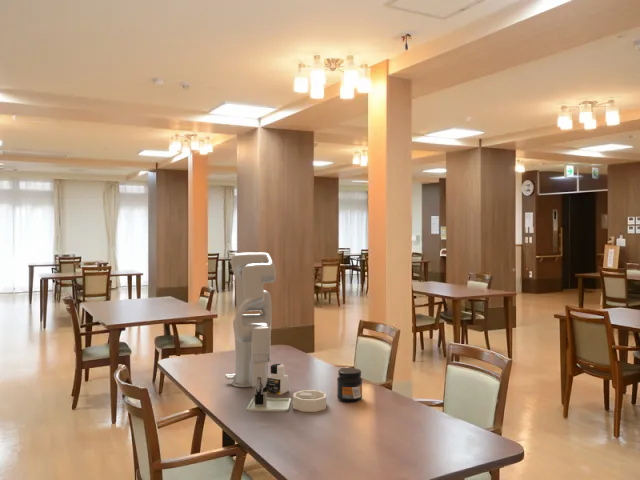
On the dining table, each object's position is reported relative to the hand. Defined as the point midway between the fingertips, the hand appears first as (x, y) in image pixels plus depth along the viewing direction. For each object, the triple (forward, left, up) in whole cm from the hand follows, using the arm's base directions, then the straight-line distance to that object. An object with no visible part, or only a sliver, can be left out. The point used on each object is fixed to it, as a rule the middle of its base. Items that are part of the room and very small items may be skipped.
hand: (261, 400), depth 217 cm
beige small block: (0, 0, -2) cm, 2 cm away
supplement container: (+35, +11, -3) cm, 37 cm away
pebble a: (+18, -1, -2) cm, 18 cm away
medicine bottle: (+4, +19, -3) cm, 20 cm away
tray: (+3, 0, -2) cm, 4 cm away
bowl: (+19, 0, -2) cm, 19 cm away
